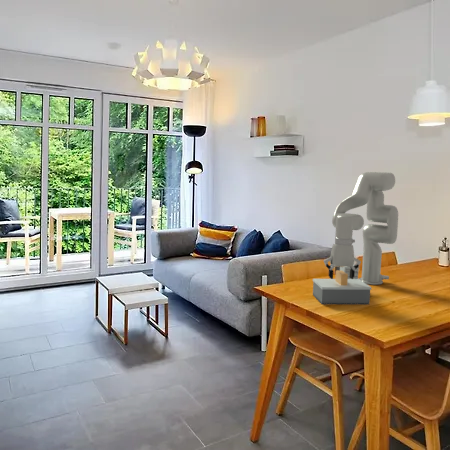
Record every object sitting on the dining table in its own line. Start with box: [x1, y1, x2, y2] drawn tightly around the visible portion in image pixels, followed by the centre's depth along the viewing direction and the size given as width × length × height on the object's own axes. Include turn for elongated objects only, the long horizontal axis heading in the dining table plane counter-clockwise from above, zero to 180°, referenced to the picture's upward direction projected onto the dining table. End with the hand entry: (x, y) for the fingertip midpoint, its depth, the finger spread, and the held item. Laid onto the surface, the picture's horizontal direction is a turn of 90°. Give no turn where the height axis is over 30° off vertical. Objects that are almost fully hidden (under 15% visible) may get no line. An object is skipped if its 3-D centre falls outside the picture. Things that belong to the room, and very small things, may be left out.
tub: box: [312, 281, 371, 305], centre depth 208 cm, size 22×15×7 cm
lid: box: [312, 269, 372, 291], centre depth 207 cm, size 23×16×7 cm
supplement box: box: [339, 264, 360, 279], centre depth 226 cm, size 7×7×13 cm
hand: (341, 278), depth 207 cm, fingers open, 9 cm apart
